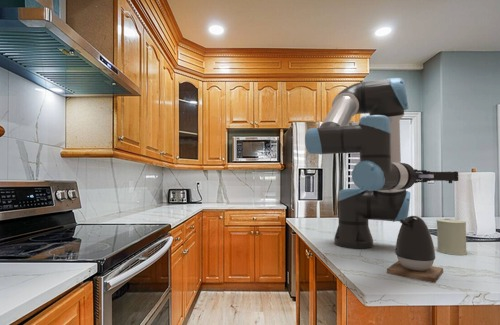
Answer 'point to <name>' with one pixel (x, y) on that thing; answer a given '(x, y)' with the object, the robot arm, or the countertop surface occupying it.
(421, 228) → the pump dispenser
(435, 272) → the walnut board
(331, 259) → the countertop surface
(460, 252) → the can
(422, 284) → the countertop surface
